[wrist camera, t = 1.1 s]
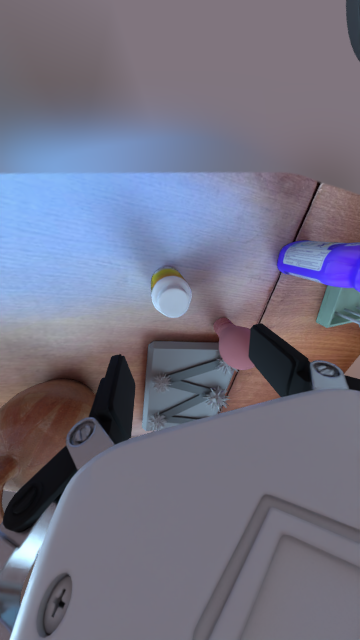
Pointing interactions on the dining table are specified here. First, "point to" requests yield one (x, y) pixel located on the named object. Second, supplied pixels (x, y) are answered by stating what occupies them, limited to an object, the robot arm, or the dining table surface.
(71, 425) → the jug
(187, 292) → the supplement bottle
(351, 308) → the dish rack
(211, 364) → the decorative plate
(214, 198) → the dining table surface
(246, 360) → the light bulb
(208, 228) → the dining table surface
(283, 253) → the bottle
